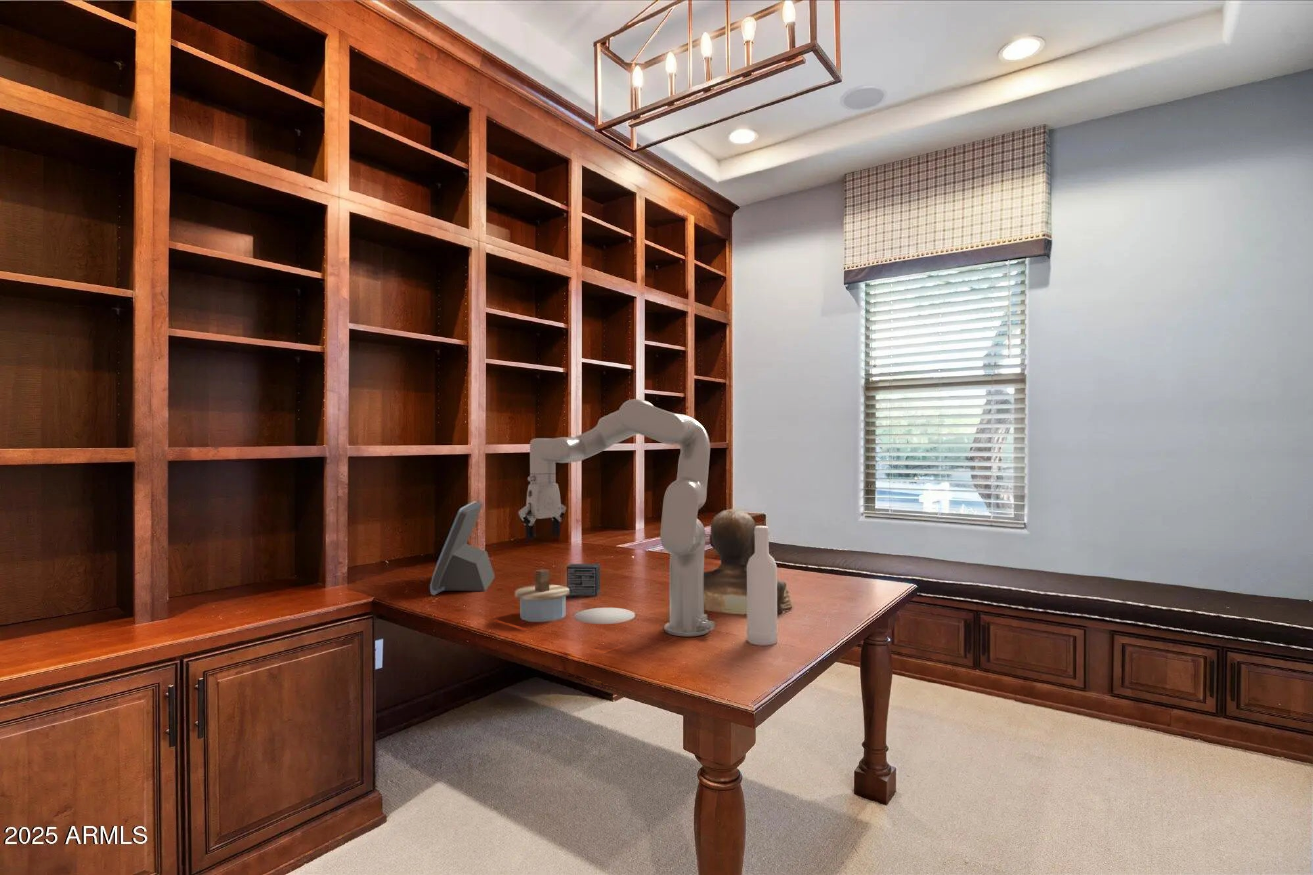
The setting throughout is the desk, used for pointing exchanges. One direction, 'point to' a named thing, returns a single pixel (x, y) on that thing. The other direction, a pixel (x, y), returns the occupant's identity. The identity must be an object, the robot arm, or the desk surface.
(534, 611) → the bowl
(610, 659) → the desk surface
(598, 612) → the mat
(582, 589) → the small box
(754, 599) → the bottle
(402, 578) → the desk surface
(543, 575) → the lid
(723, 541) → the portrait bust
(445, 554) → the touchscreen device
